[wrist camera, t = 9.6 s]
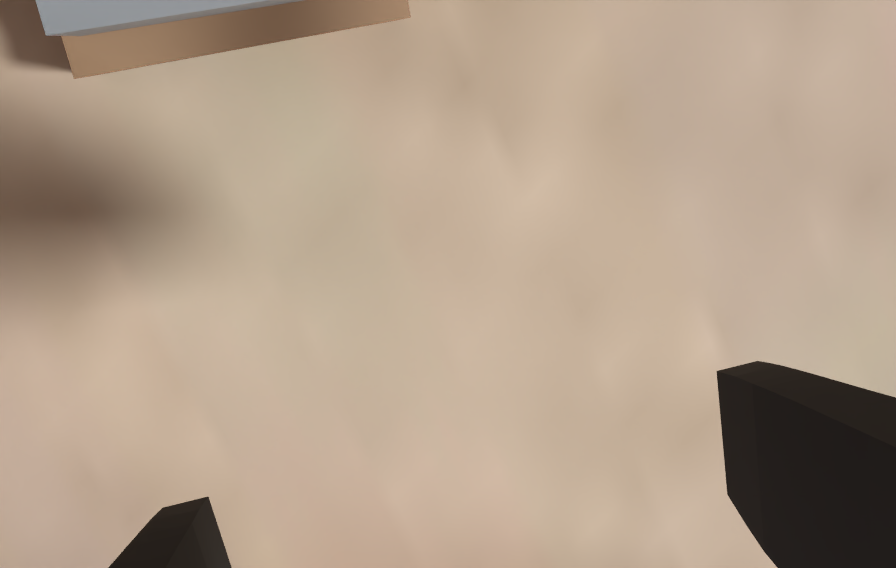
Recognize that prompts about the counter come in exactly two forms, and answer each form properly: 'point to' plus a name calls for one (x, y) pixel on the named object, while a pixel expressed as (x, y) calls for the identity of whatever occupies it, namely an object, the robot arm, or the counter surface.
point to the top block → (131, 13)
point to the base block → (222, 33)
